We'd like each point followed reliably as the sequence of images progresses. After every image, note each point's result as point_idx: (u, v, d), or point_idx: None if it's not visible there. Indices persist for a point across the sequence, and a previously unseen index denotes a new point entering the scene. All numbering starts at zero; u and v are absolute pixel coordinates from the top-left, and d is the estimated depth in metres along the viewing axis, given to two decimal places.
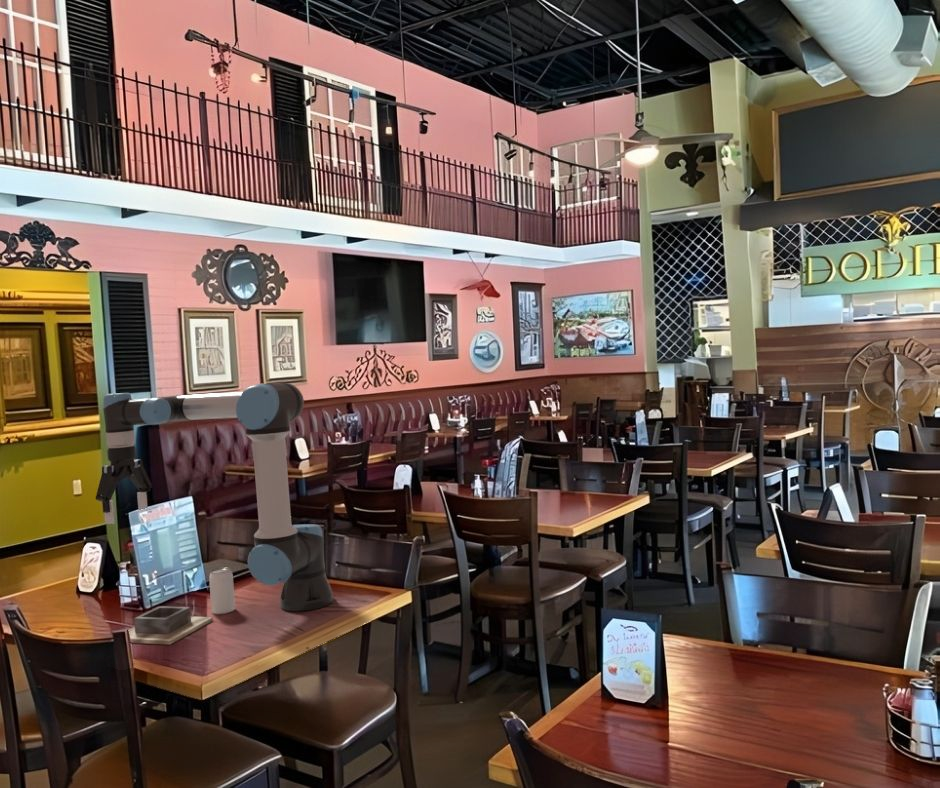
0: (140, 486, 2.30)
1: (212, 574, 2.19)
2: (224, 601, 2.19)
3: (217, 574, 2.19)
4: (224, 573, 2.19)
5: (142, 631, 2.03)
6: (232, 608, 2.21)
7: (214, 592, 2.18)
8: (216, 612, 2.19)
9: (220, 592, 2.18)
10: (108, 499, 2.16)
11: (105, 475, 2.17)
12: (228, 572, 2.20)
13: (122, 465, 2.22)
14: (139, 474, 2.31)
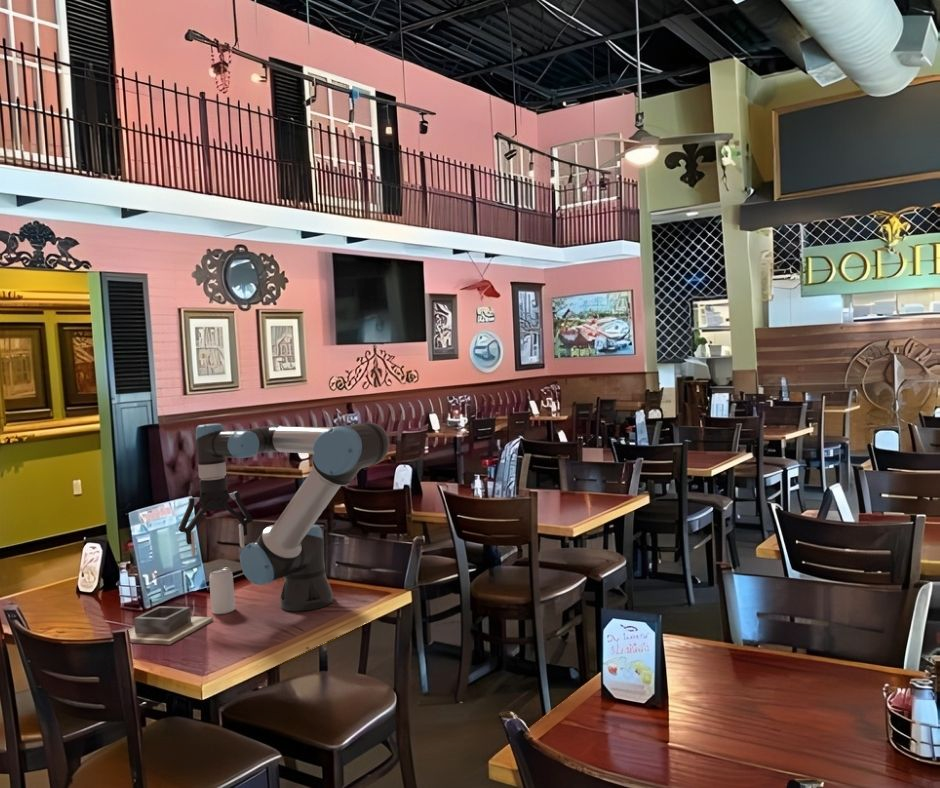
0: (237, 519, 2.23)
1: (212, 574, 2.19)
2: (224, 601, 2.19)
3: (217, 574, 2.19)
4: (224, 573, 2.19)
5: (142, 631, 2.03)
6: (232, 608, 2.21)
7: (214, 592, 2.18)
8: (216, 612, 2.19)
9: (220, 592, 2.18)
10: (187, 531, 2.16)
11: (188, 507, 2.17)
12: (228, 572, 2.20)
13: (209, 498, 2.19)
14: (239, 506, 2.24)
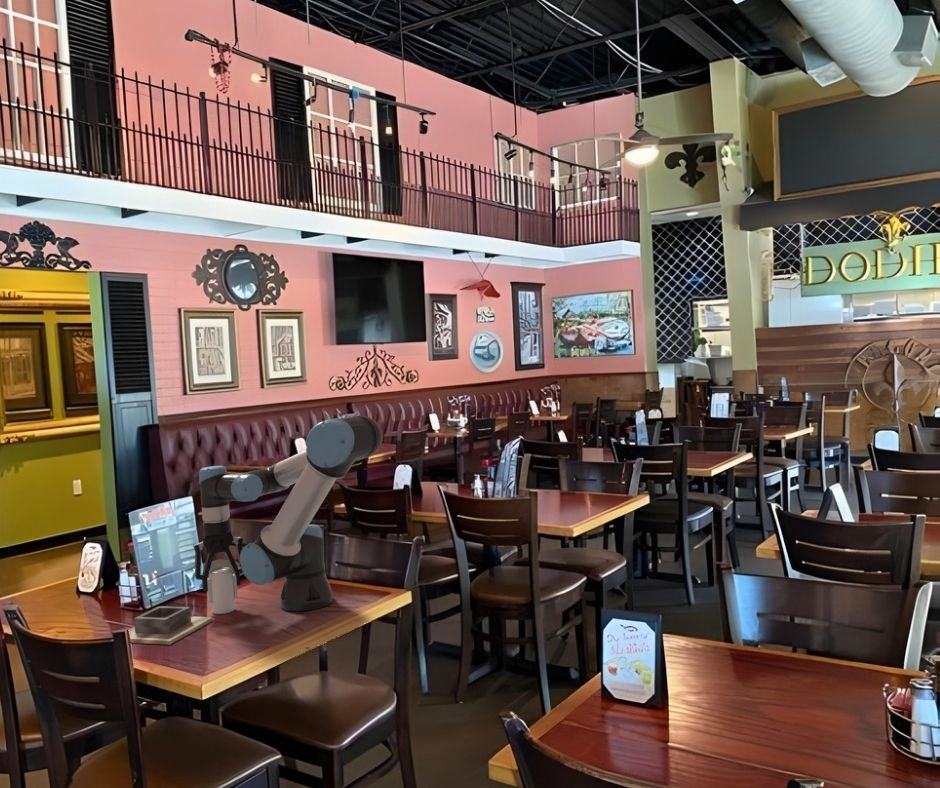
0: (232, 567, 2.22)
1: (212, 574, 2.19)
2: (224, 601, 2.19)
3: (217, 574, 2.19)
4: (224, 573, 2.19)
5: (142, 631, 2.03)
6: (232, 608, 2.21)
7: (214, 592, 2.18)
8: (216, 612, 2.19)
9: (220, 592, 2.18)
10: (204, 579, 2.18)
11: (196, 554, 2.18)
12: (228, 572, 2.20)
13: (212, 538, 2.19)
14: (237, 552, 2.24)
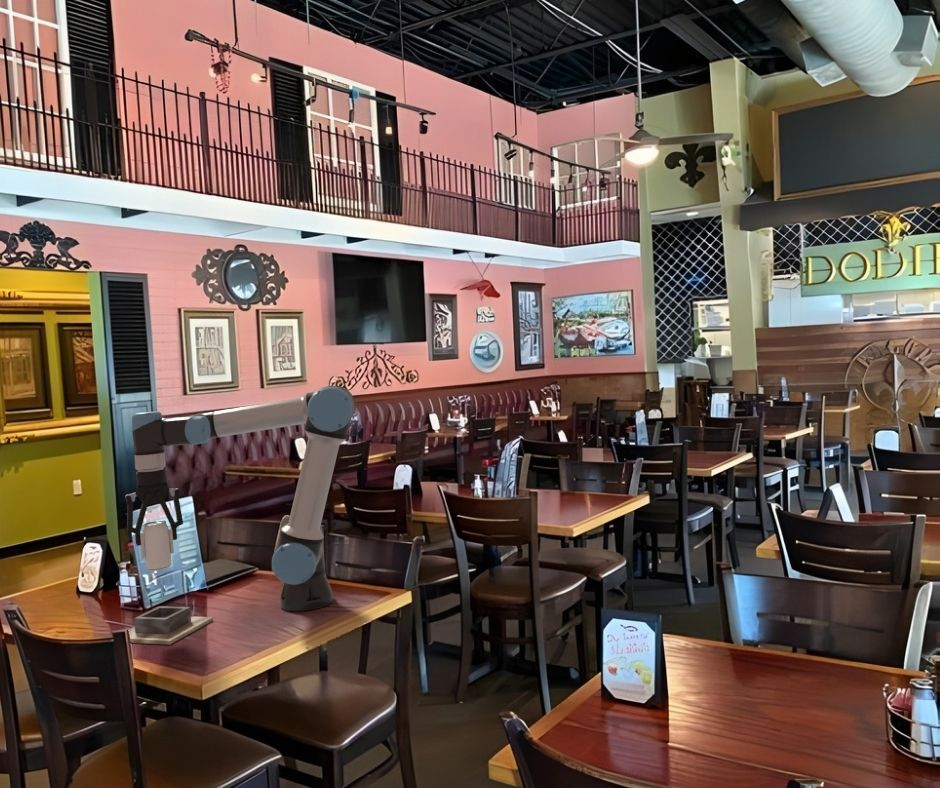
0: (168, 520, 2.08)
1: (145, 527, 2.04)
2: (158, 555, 2.04)
3: (151, 527, 2.04)
4: (158, 526, 2.04)
5: (142, 631, 2.03)
6: (167, 563, 2.06)
7: (147, 546, 2.04)
8: (150, 567, 2.04)
9: (154, 546, 2.04)
10: (137, 532, 2.03)
11: None
12: (163, 525, 2.06)
13: (146, 488, 2.04)
14: (174, 505, 2.09)
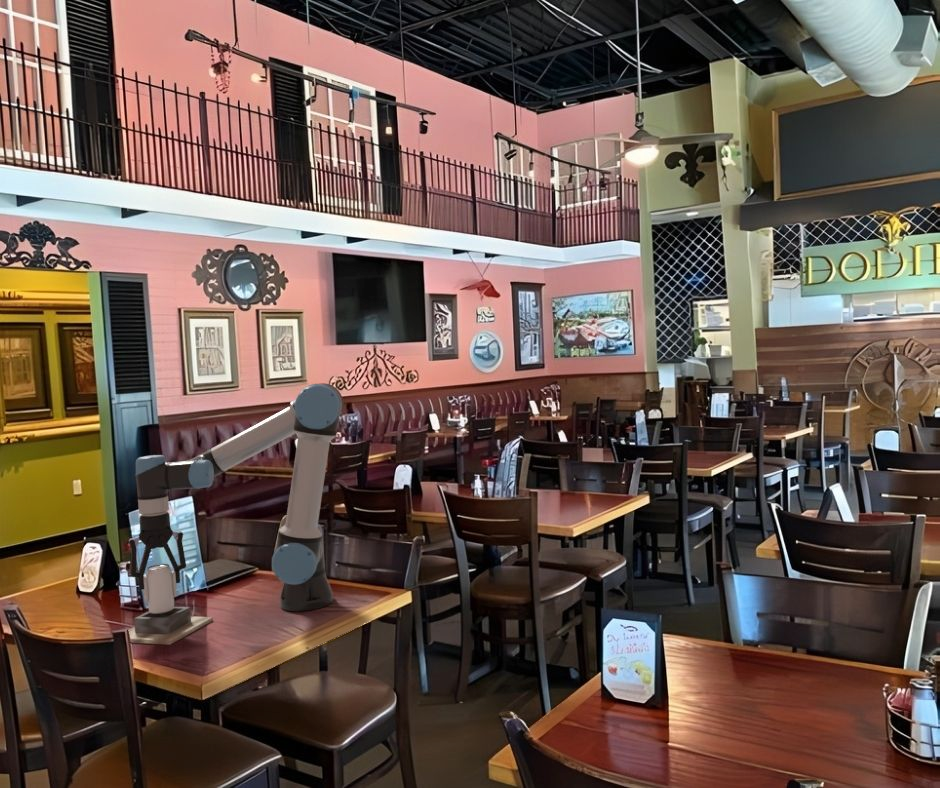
0: (171, 563, 2.08)
1: (149, 571, 2.05)
2: (161, 600, 2.04)
3: (154, 571, 2.04)
4: (162, 570, 2.05)
5: (142, 631, 2.03)
6: (170, 607, 2.06)
7: (151, 590, 2.04)
8: (153, 611, 2.04)
9: (157, 590, 2.04)
10: (140, 576, 2.04)
11: (131, 549, 2.03)
12: (166, 569, 2.06)
13: (149, 532, 2.05)
14: None
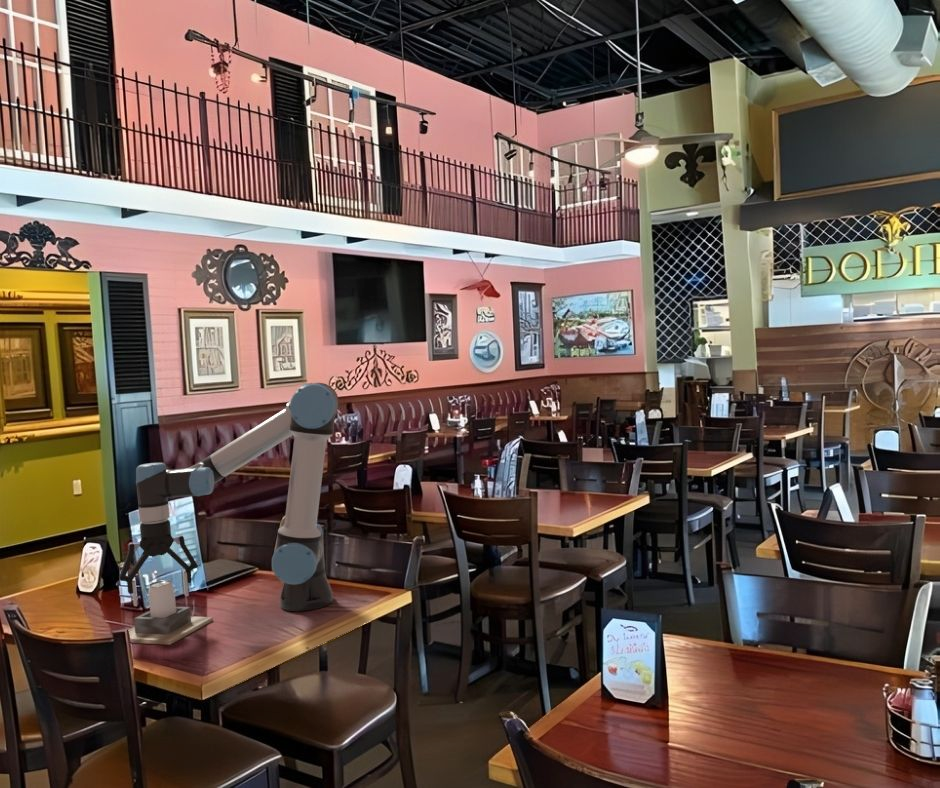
0: (181, 565, 2.09)
1: (151, 588, 2.05)
2: (165, 616, 2.05)
3: (156, 588, 2.04)
4: (164, 586, 2.05)
5: (142, 631, 2.03)
6: None
7: (153, 607, 2.04)
8: None
9: (160, 607, 2.04)
10: (128, 580, 2.02)
11: (128, 553, 2.03)
12: (169, 585, 2.06)
13: (151, 542, 2.05)
14: None
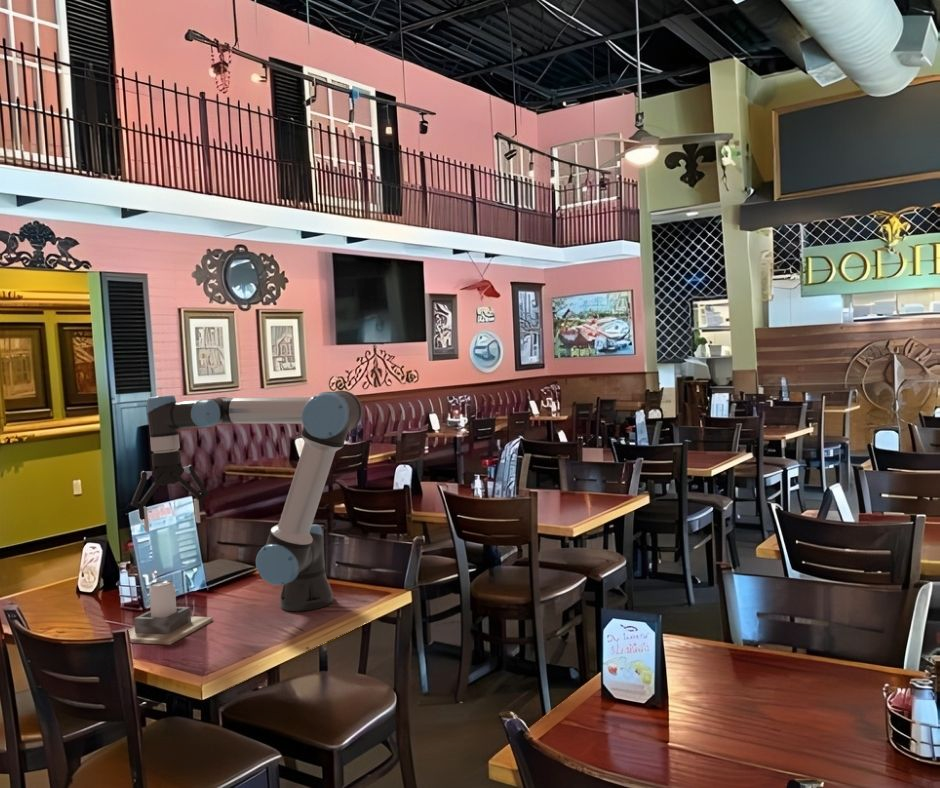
0: (192, 493, 2.17)
1: (152, 587, 2.05)
2: (165, 616, 2.05)
3: (157, 587, 2.04)
4: (165, 586, 2.05)
5: (142, 631, 2.03)
6: None
7: (154, 607, 2.04)
8: None
9: (161, 607, 2.04)
10: (140, 506, 2.10)
11: (140, 481, 2.11)
12: (170, 585, 2.06)
13: (163, 471, 2.13)
14: (194, 480, 2.18)
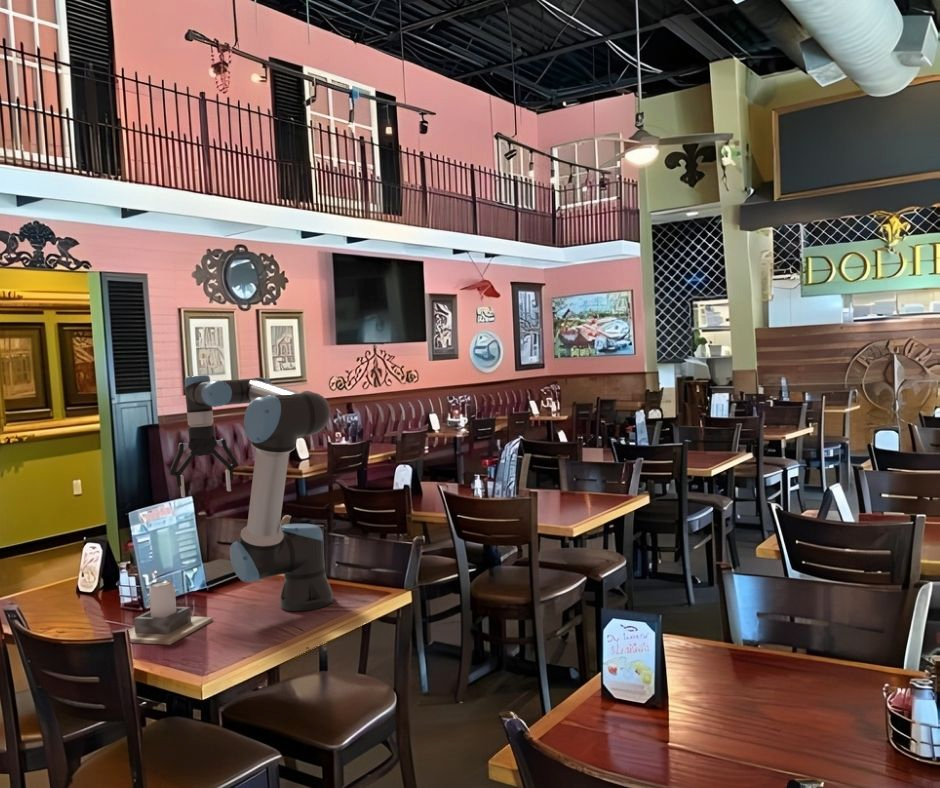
0: (224, 464, 2.40)
1: (152, 588, 2.05)
2: (165, 616, 2.05)
3: (157, 588, 2.04)
4: (165, 586, 2.05)
5: (142, 631, 2.03)
6: None
7: (154, 607, 2.04)
8: None
9: (160, 607, 2.04)
10: (177, 474, 2.33)
11: (178, 452, 2.34)
12: (169, 585, 2.06)
13: (198, 443, 2.35)
14: (226, 453, 2.41)
